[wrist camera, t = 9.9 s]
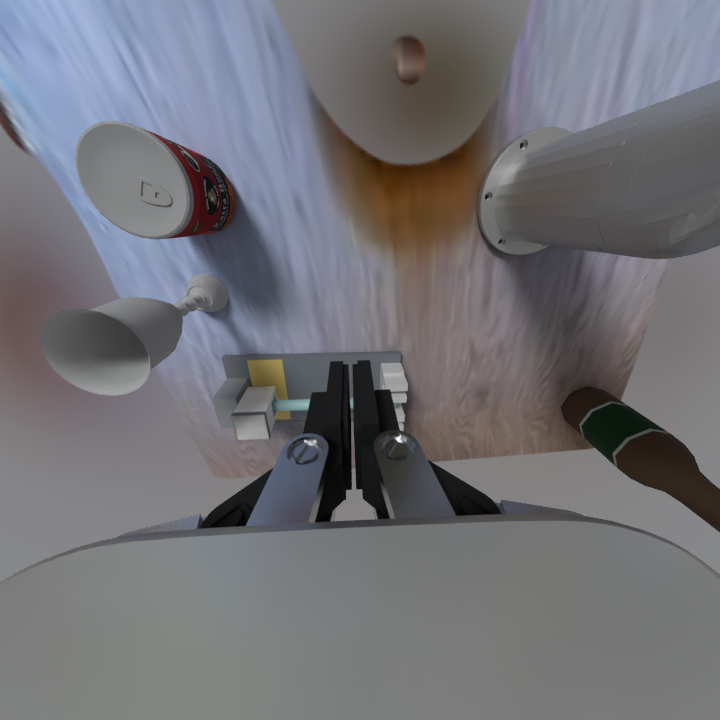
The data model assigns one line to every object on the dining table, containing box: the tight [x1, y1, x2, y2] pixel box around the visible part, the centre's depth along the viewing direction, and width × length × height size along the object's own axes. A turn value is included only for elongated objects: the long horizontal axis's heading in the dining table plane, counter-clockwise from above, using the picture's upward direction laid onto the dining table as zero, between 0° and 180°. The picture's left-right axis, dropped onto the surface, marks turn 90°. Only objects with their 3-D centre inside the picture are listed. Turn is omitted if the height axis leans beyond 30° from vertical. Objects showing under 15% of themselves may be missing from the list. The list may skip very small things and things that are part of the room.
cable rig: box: [212, 351, 408, 431], centre depth 40 cm, size 26×12×6 cm, turn 90°
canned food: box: [75, 121, 235, 239], centre depth 25 cm, size 8×8×11 cm
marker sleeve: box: [231, 386, 278, 440], centre depth 37 cm, size 4×4×6 cm
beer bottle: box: [561, 387, 720, 532], centre depth 37 cm, size 8×8×24 cm
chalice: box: [40, 274, 228, 396], centre depth 27 cm, size 7×7×18 cm
